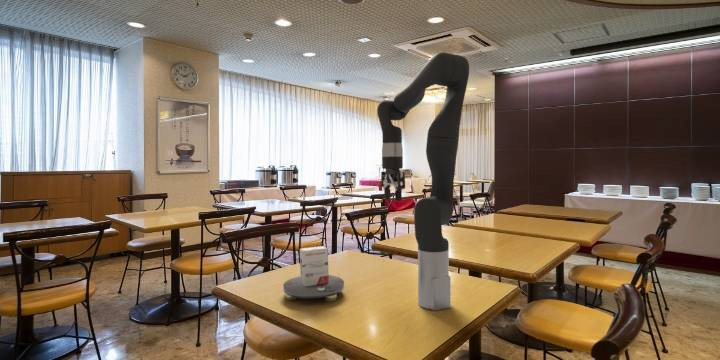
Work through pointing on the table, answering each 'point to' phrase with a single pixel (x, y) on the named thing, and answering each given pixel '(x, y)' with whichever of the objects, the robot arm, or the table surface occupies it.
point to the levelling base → (313, 289)
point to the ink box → (314, 266)
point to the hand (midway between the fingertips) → (392, 199)
